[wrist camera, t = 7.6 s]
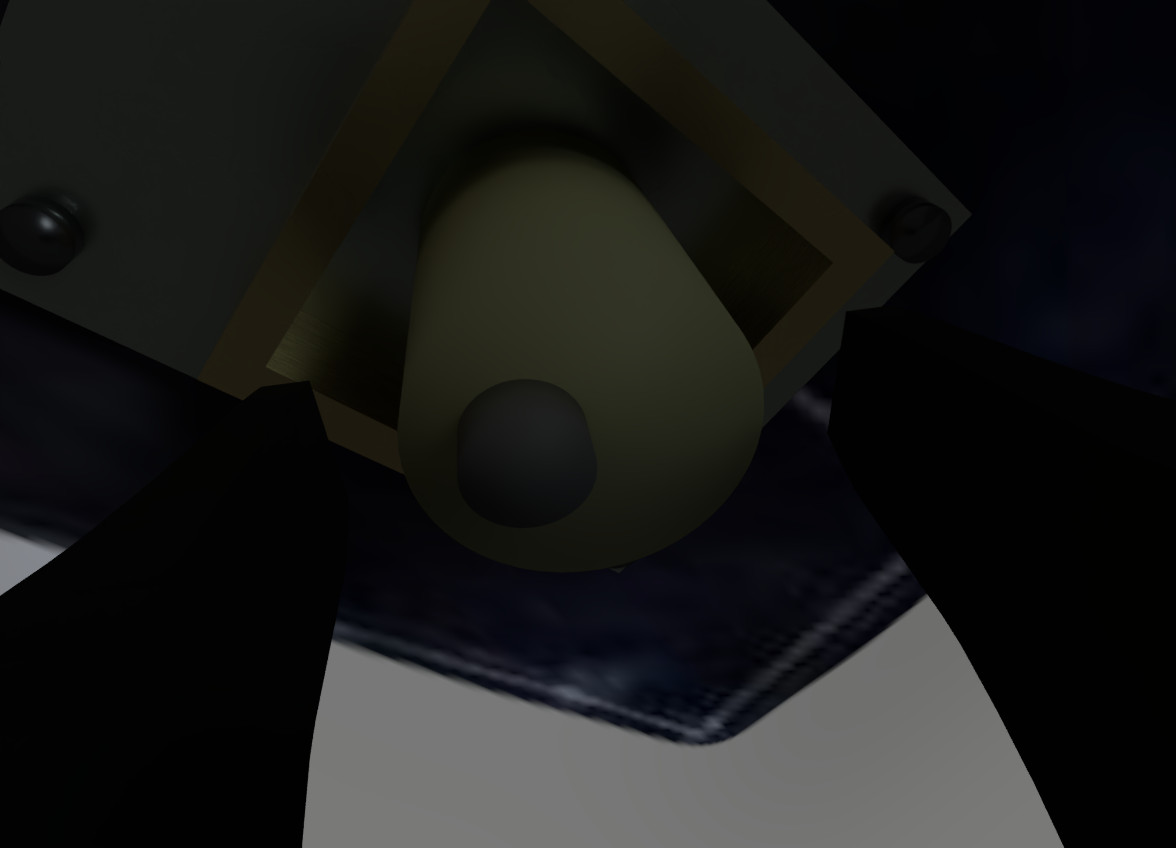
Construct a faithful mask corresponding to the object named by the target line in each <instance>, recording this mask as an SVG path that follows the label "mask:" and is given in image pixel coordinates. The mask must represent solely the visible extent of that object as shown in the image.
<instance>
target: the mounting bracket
mask: <svg viewBox="0 0 1176 848" xmlns="http://www.w3.org/2000/svg"><path fill="white" fill-rule="evenodd" d="M534 129H542V130H555V131H560V132H564V133H569V134H573V135H575V136H578V137H581V138H584V139H586V140H588V141H590V142H592V143H594V144H596V145H598V146H599V147H601V148H602V149H604V150H605V151H607V152H608V153H609V154H611V155H612V156H613V157H614V158H616V159H617V160H618V161H619V162H620V163H621V164H622V165H623V166H624V167H625V168H626V170H627V171H628V172H629V174H630V175H631V176H632V177H633V179H634V180H635V181H636V183H637V184H638V186H639V187H640V188H641V190H642V191H643V193H644V194H645V196H646V197H647V198H648V200H649V201H650V203H651V204H652V205H653V207H654V208H655V210H656V211H657V212H658V214H659V215H660V217H661V218H662V220H663V221H664V222H665V224H666V225H667V227H668V228H669V229H670V231H671V232H672V234H673V235H674V236H675V238H676V239H677V241H678V242H679V244H680V245H681V246H682V248H683V249H684V251H685V252H686V253H687V255H688V256H689V258H690V259H691V260H692V262H693V263H694V265H695V266H696V268H697V269H698V270H699V272H700V273H701V275H702V276H703V277H704V279H705V280H706V282H707V283H708V284H709V286H710V287H711V289H712V290H713V292H714V293H715V294H716V296H717V297H718V299H719V300H720V301H721V303H722V304H723V306H724V307H725V308H726V310H727V311H728V313H729V314H730V316H731V317H732V318H733V320H734V321H735V323H736V324H737V325H738V327H739V328H740V330H741V331H742V332H743V334H744V336H745V338H746V339H747V341H748V343H749V345H750V347H751V348H752V350H753V352H754V355H755V358H756V361H757V363H758V366H759V369H760V373H761V378H762V384H763V389H764V415H763V424H762V428H763V427H764V426H765V425H766V424H767V423H768V421H769V420H770V419H771V418H772V417H773V416H774V415H775V414H776V413H777V412H778V411H779V410H780V409H781V408H782V407H783V406H784V405H785V404H786V403H787V402H788V401H789V400H790V399H791V398H792V397H793V396H794V395H795V394H796V393H797V392H798V391H799V390H800V389H801V388H802V387H803V386H804V385H805V384H806V383H807V382H808V381H809V380H810V379H811V378H812V377H813V376H814V375H815V374H816V373H817V372H818V371H819V370H820V369H821V368H822V367H823V366H824V365H825V363H826V362H827V361H828V360H829V359H830V358H831V357H832V356H833V355H834V354H835V353H836V352H837V351H838V350H839V349H840V347H841V341H842V334H843V328H844V321H845V315H846V311H852V310H860V309H868V308H875V307H882V305H883V304H884V303H885V302H886V301H887V300H888V299H889V298H890V297H891V296H892V295H893V294H894V293H895V292H896V291H897V290H898V289H899V288H900V287H901V286H902V285H903V284H904V283H905V282H906V281H907V280H908V279H909V278H910V277H911V276H912V275H913V274H914V273H915V272H916V271H917V270H918V269H919V268H920V267H921V266H922V265H923V264H924V263H925V262H926V261H928V260H930V259H932V258H933V257H935V256H936V255H937V254H938V253H939V252H940V251H941V250H942V249H943V248H944V247H945V245H946V244H947V242H948V240H949V238H950V236H951V235H952V234H953V233H954V232H955V231H956V230H957V229H958V228H959V227H960V226H961V225H962V224H963V223H964V222H965V221H966V220H967V219H968V218H969V217H970V216H971V215H972V214H971V213H970V212H969V211H968V210H967V209H966V208H965V207H964V206H963V205H962V204H961V202H960V201H959V200H958V199H957V198H956V197H955V196H954V195H953V194H952V193H951V192H950V191H949V190H948V189H947V188H946V187H945V186H944V185H943V184H942V183H941V182H940V181H939V180H938V179H937V177H936V176H935V175H934V174H933V173H932V172H931V171H930V170H929V169H928V168H927V167H926V166H925V165H924V164H923V163H922V162H921V161H920V160H919V159H918V158H917V157H916V156H915V155H914V154H913V152H912V151H911V150H910V149H909V148H908V147H907V146H906V145H905V144H904V143H903V142H902V141H901V140H900V139H899V138H898V137H897V136H896V135H895V134H894V133H893V132H892V131H891V130H890V129H889V127H888V126H887V125H886V124H885V123H884V122H883V121H882V120H881V119H880V118H879V117H878V116H877V115H876V114H875V113H874V112H873V111H872V110H871V109H870V108H869V107H868V106H867V105H866V104H865V102H864V101H863V100H862V99H861V98H860V97H859V96H858V95H857V94H856V93H855V92H854V91H853V90H852V89H851V88H850V87H849V86H848V85H847V84H846V83H845V82H844V81H843V80H842V79H841V78H840V76H839V75H838V74H837V73H836V72H835V71H834V70H833V69H832V68H831V67H830V66H829V65H828V64H827V63H826V62H825V61H824V60H823V59H822V58H821V57H820V56H819V55H818V54H817V53H816V51H815V50H814V49H813V48H812V47H811V46H810V45H809V44H808V43H807V42H806V41H805V40H804V39H803V38H802V37H801V36H800V35H799V34H798V33H797V32H796V31H795V30H794V29H793V28H792V26H791V25H790V24H789V23H788V22H787V21H786V20H785V19H784V18H783V17H782V16H781V15H780V14H779V13H778V12H777V11H776V10H775V9H774V8H773V7H772V6H771V5H770V4H769V3H768V1H767V0H10V1H9V4H8V6H7V9H6V12H5V15H4V17H3V20H2V23H1V26H0V289H2V290H4V291H6V292H9V293H11V294H13V295H15V296H17V297H19V298H22V299H24V300H26V301H28V302H30V303H32V304H35V305H37V306H39V307H41V308H43V309H46V310H48V311H50V312H52V313H54V314H56V315H59V316H61V317H63V318H65V319H67V320H69V321H72V322H74V323H76V324H78V325H80V326H82V327H85V328H87V329H89V330H91V331H93V332H96V333H98V334H100V335H102V336H104V337H106V338H109V339H111V340H113V341H115V342H117V343H119V344H122V345H124V346H126V347H128V348H130V349H133V350H135V351H137V352H139V353H141V354H143V355H146V356H148V357H150V358H152V359H154V360H156V361H159V362H161V363H163V364H165V365H167V366H170V367H172V368H174V369H176V370H178V371H180V372H183V373H185V374H187V375H189V376H191V377H193V378H196V379H197V380H199V381H201V382H204V383H206V384H208V385H210V386H212V387H214V388H217V389H219V390H221V391H223V392H225V393H228V394H230V395H232V396H234V397H236V398H238V399H241V400H244V399H245V398H247V397H248V396H249V395H250V394H252V393H253V392H254V391H256V390H257V389H258V388H260V387H263V386H270V385H278V384H286V383H294V382H301V381H309V380H310V384H311V387H312V390H313V393H314V396H315V399H316V402H317V405H318V408H319V412H320V415H321V418H322V421H323V424H324V427H325V430H326V433H327V436H328V439H329V440H330V441H332V442H334V443H336V444H339V445H341V446H343V447H345V448H347V449H349V450H352V451H354V452H356V453H358V454H360V455H362V456H365V457H367V458H369V459H371V460H373V461H376V462H378V463H380V464H382V465H384V466H386V467H389V468H391V469H393V470H395V471H397V472H399V473H402V474H404V472H403V469H402V465H401V460H400V455H399V451H398V434H397V426H398V418H399V409H400V400H401V392H402V383H403V374H404V366H405V357H406V348H407V340H408V331H409V322H410V314H411V305H412V296H413V288H414V279H415V270H416V262H417V253H418V244H419V236H420V227H421V221H422V218H423V214H424V210H425V207H426V205H427V202H428V200H429V198H430V195H431V193H432V192H433V190H434V188H435V187H436V185H437V183H438V181H439V180H440V179H441V177H442V176H443V175H444V174H445V172H446V171H447V170H448V169H449V168H450V167H451V166H452V165H453V164H454V163H455V162H456V161H457V160H458V159H459V158H460V157H461V156H463V155H464V154H465V153H467V152H468V151H470V150H471V149H472V148H474V147H476V146H477V145H479V144H481V143H483V142H485V141H487V140H489V139H492V138H495V137H497V136H500V135H503V134H506V133H511V132H516V131H521V130H534ZM404 475H405V474H404ZM635 561H636V560H634V561H631V562H628V563H625V564H622V565H617V566H613V567H608V568H609V569H611V570H613V571H615V572H618V573H620V572H621V571H622V570H623V569H624V568H625V567H626V566H628V565H630V564H632V563H633V562H635Z"/></svg>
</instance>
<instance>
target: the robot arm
mask: <svg viewBox="0 0 1176 848" xmlns="http://www.w3.org/2000/svg"><path fill="white" fill-rule="evenodd" d="M827 433H828V436H829V438H830V440H831V442H832V444H833V446H834V448H835V451H836V453H837V455H838V457H839V459H840V461H841V464H842V466H843V467H844V469H845V471H846V473H847V475H848V477H849V479H850V481H851V483H852V485H853V487H854V489H855V491H856V492H857V494H858V495H859V497H860V498H861V500H862V501H863V503H864V504H865V506H866V507H867V508H868V510H869V511H870V513H871V514H872V516H873V517H874V519H875V520H876V522H877V523H878V525H879V526H880V527H881V529H882V530H883V532H884V533H885V535H886V536H887V538H888V539H889V540H890V542H891V543H892V545H893V546H894V547H895V549H896V550H897V552H898V553H899V555H900V556H901V557H902V559H903V560H904V562H905V563H906V565H907V566H908V567H909V569H910V570H911V572H912V573H913V574H914V576H915V577H916V579H917V580H918V582H919V583H920V584H921V586H922V587H923V589H924V590H925V592H926V593H927V594H928V596H929V597H930V599H931V600H932V602H933V603H934V604H935V606H936V607H937V609H938V610H939V612H940V613H941V614H942V616H943V618H944V619H945V621H946V622H947V624H948V625H949V627H950V628H951V630H952V632H953V633H954V635H955V636H956V638H957V639H958V641H959V643H960V644H961V646H962V648H963V650H964V651H965V653H966V655H967V657H968V659H969V660H970V662H971V664H972V666H973V668H974V670H975V671H976V673H977V675H978V677H979V679H980V680H981V682H982V684H983V686H984V688H985V690H986V691H987V693H988V695H989V697H990V699H991V701H992V702H993V704H994V706H995V708H996V710H997V712H998V714H999V715H1000V717H1001V719H1002V721H1003V723H1004V725H1005V727H1006V729H1007V731H1008V733H1009V735H1010V737H1011V739H1012V741H1013V743H1014V745H1015V747H1016V749H1017V751H1018V753H1019V755H1020V756H1021V759H1022V761H1023V762H1024V764H1025V766H1026V768H1027V770H1028V772H1029V774H1030V776H1031V778H1032V780H1033V782H1034V784H1035V786H1036V788H1037V790H1038V792H1039V795H1040V797H1041V799H1042V801H1043V803H1044V805H1045V808H1046V810H1047V812H1048V814H1049V816H1050V818H1051V820H1052V823H1053V825H1054V827H1055V829H1056V831H1057V833H1058V835H1059V838H1060V840H1061V842H1062V844H1063V846H1064V848H1176V401H1175V400H1171V399H1168V398H1164V397H1161V396H1157V395H1154V394H1150V393H1147V392H1143V391H1140V390H1137V389H1133V388H1130V387H1127V386H1124V385H1121V384H1118V383H1115V382H1112V381H1109V380H1105V379H1102V378H1099V377H1096V376H1093V375H1090V374H1087V373H1084V372H1081V371H1078V370H1075V369H1072V368H1069V367H1066V366H1063V365H1060V364H1057V363H1054V362H1052V361H1049V360H1046V359H1043V358H1040V357H1038V356H1035V355H1032V354H1029V353H1027V352H1024V351H1021V350H1018V349H1016V348H1013V347H1010V346H1007V345H1005V344H1002V343H999V342H997V341H994V340H991V339H989V338H986V337H983V336H981V335H978V334H975V333H972V332H970V331H967V330H964V329H962V328H959V327H956V326H953V325H951V324H948V323H945V322H942V321H939V320H936V319H933V318H930V317H928V316H925V315H921V314H918V313H915V312H912V311H908V310H905V309H900V308H896V307H892V306H883V307H875V308H868V309H860V310H852V311H846V315H845V321H844V328H843V334H842V341H841V347H840V354H839V360H838V367H837V374H836V380H835V387H834V393H833V400H832V406H831V413H830V419H829V426H828V432H827ZM348 508H349V502H348V499H347V495H346V492H345V489H344V486H343V483H342V480H341V477H340V474H339V471H338V467H337V464H336V461H335V458H334V455H333V452H332V449H331V446H330V443H329V439H328V436H327V433H326V430H325V427H324V424H323V421H322V418H321V415H320V412H319V408H318V405H317V402H316V399H315V396H314V393H313V390H312V387H311V384H310V380H309V381H301V382H294V383H286V384H278V385H270V386H263V387H260V388H258V389H257V390H256V391H254V392H253V393H252V394H250V395H249V396H248V397H247V398H245V399H244V400H243V401H242V402H241V403H239V404H238V405H237V406H236V407H235V408H234V409H232V410H231V411H230V412H229V413H228V414H227V415H226V416H225V417H223V418H222V419H221V420H220V421H219V422H218V423H217V424H216V425H215V426H214V427H212V428H211V429H210V430H209V431H208V432H207V433H206V434H205V435H204V436H202V437H201V438H200V439H199V440H198V441H197V442H196V443H195V444H193V445H192V446H191V447H190V448H189V449H188V450H187V451H186V452H184V453H183V454H182V455H181V456H180V457H179V458H178V459H177V460H175V461H174V462H173V463H172V464H171V465H170V466H169V467H168V468H166V469H165V470H164V471H163V472H162V473H161V474H160V475H159V476H157V477H156V478H155V479H154V480H153V481H151V482H150V483H149V484H148V485H147V486H145V487H144V488H143V489H142V490H140V491H139V492H138V493H137V494H135V495H134V496H133V497H132V498H131V499H129V500H128V501H127V502H126V503H124V504H123V505H122V506H121V507H120V508H118V509H117V510H116V511H115V512H113V513H112V514H111V515H110V516H108V517H107V518H106V519H105V520H104V521H102V522H101V523H100V524H99V525H97V526H96V527H95V528H94V529H93V530H91V531H90V532H89V533H88V534H86V535H85V536H84V537H82V538H81V539H80V540H78V541H77V542H76V543H74V544H73V545H72V546H70V547H69V548H68V549H66V550H65V551H64V552H62V553H61V554H59V555H58V556H57V557H55V558H54V559H53V560H52V561H50V562H48V563H47V564H46V565H44V566H43V567H41V568H40V569H39V570H37V571H36V572H34V573H33V574H31V575H30V576H28V577H27V578H25V579H24V580H22V581H21V582H20V583H18V584H17V585H15V586H14V587H12V588H11V589H9V590H8V591H6V592H5V593H3V594H2V595H1V596H0V848H302V840H303V829H304V817H305V806H306V794H307V784H308V772H309V761H310V753H311V747H312V740H313V733H314V727H315V720H316V716H317V710H318V706H319V701H320V696H321V691H322V686H323V680H324V676H325V671H326V665H327V660H328V655H329V650H330V645H331V641H332V636H333V631H334V626H335V621H336V615H337V610H338V605H339V600H340V595H341V589H342V584H343V579H344V573H345V567H346V552H347V534H348Z"/></svg>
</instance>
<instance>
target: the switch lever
mask: <svg viewBox="0 0 1176 848" xmlns="http://www.w3.org/2000/svg"><path fill="white" fill-rule="evenodd" d="M763 415H764V389H763V384H762V378H761V373H760V369H759V366H758V363H757V361H756V358H755V355H754V352H753V350H752V348H751V347H750V345H749V343H748V341H747V339H746V338H745V336H744V334H743V332H742V331H741V330H740V328H739V327H738V325H737V324H736V323H735V321H734V320H733V318H732V317H731V316H730V314H729V313H728V311H727V310H726V308H725V307H724V306H723V304H722V303H721V301H720V300H719V299H718V297H717V296H716V294H715V293H714V292H713V290H712V289H711V287H710V286H709V284H708V283H707V282H706V280H705V279H704V277H703V276H702V275H701V273H700V272H699V270H698V269H697V268H696V266H695V265H694V263H693V262H692V260H691V259H690V258H689V256H688V255H687V253H686V252H685V251H684V249H683V248H682V246H681V245H680V244H679V242H678V241H677V239H676V238H675V236H674V235H673V234H672V232H671V231H670V229H669V228H668V227H667V225H666V224H665V222H664V221H663V220H662V218H661V217H660V215H659V214H658V212H657V211H656V210H655V208H654V207H653V205H652V204H651V203H650V201H649V200H648V198H647V197H646V196H645V194H644V193H643V191H642V190H641V188H640V187H639V186H638V184H637V183H636V181H635V180H634V179H633V177H632V176H631V175H630V174H629V172H628V171H627V170H626V168H625V167H624V166H623V165H622V164H621V163H620V162H619V161H618V160H617V159H616V158H614V157H613V156H612V155H611V154H609V153H608V152H607V151H605V150H604V149H602V148H601V147H599V146H598V145H596V144H594V143H592V142H590V141H588V140H586V139H584V138H581V137H578V136H575V135H573V134H569V133H564V132H560V131H555V130H542V129H534V130H521V131H516V132H511V133H506V134H503V135H500V136H497V137H495V138H492V139H489V140H487V141H485V142H483V143H481V144H479V145H477V146H476V147H474V148H472V149H471V150H470V151H468V152H467V153H465V154H464V155H463V156H461V157H460V158H459V159H458V160H457V161H456V162H455V163H454V164H453V165H452V166H451V167H450V168H449V169H448V170H447V171H446V172H445V174H444V175H443V176H442V177H441V179H440V180H439V181H438V183H437V185H436V187H435V188H434V190H433V192H432V193H431V195H430V198H429V200H428V202H427V205H426V207H425V210H424V214H423V218H422V221H421V227H420V236H419V244H418V253H417V262H416V270H415V279H414V288H413V296H412V305H411V314H410V322H409V331H408V340H407V348H406V357H405V366H404V374H403V383H402V392H401V400H400V409H399V418H398V426H397V434H398V451H399V455H400V460H401V465H402V469H403V472H404V474H405V477H406V479H407V482H408V485H409V487H410V489H411V491H412V493H413V494H414V496H415V498H416V499H417V501H418V503H419V505H420V506H421V507H422V508H423V510H424V511H425V512H426V513H427V515H428V516H429V517H430V518H431V520H432V521H433V522H435V523H436V524H437V525H438V526H439V527H440V528H441V529H442V530H443V531H444V532H445V533H446V534H448V535H449V536H450V537H452V538H453V539H455V540H456V541H457V542H459V543H460V544H462V545H463V546H465V547H467V548H469V549H471V550H472V551H474V552H476V553H478V554H480V555H482V556H485V557H487V558H490V559H492V560H495V561H497V562H500V563H504V564H507V565H511V566H515V567H518V568H524V569H530V570H536V571H546V572H582V571H590V570H598V569H604V568H608V567H613V566H617V565H622V564H625V563H628V562H631V561H634V560H637V559H640V558H643V557H645V556H648V555H650V554H652V553H655V552H657V551H659V550H662V549H663V548H665V547H667V546H669V545H671V544H672V543H674V542H676V541H678V540H680V539H681V538H683V537H684V536H686V535H687V534H688V533H690V532H691V531H693V530H694V529H696V528H697V527H698V526H700V525H701V524H702V523H703V522H704V521H705V520H707V519H708V518H709V517H710V516H711V515H712V514H713V513H714V512H715V511H716V510H717V509H718V508H719V507H720V506H721V505H722V504H723V503H724V502H725V501H726V500H727V499H728V497H729V496H730V495H731V493H732V492H733V491H734V489H735V488H736V487H737V485H738V484H739V482H740V481H741V479H742V477H743V476H744V474H745V472H746V470H747V469H748V467H749V465H750V463H751V460H752V458H753V455H754V453H755V451H756V448H757V445H758V441H759V438H760V434H761V430H762V424H763Z"/></svg>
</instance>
